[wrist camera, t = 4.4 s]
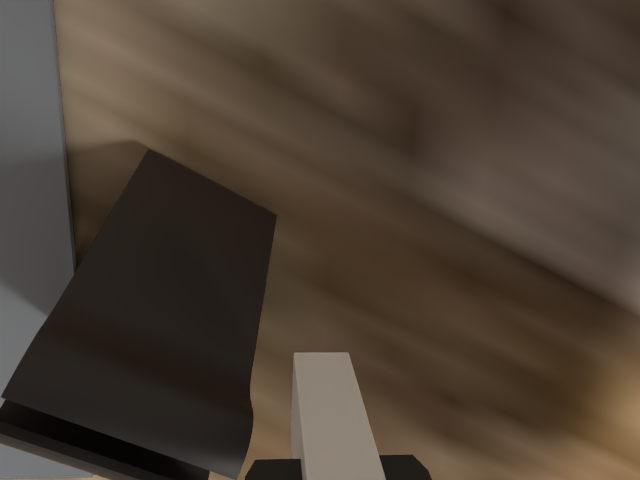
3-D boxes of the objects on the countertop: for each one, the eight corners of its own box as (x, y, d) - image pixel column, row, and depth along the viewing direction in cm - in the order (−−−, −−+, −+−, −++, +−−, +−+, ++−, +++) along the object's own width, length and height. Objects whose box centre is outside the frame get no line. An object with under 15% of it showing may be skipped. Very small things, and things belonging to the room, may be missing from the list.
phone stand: (150, 146, 23) (76, 247, 12) (277, 213, 24) (318, 357, 13) (59, 321, 25) (-81, 552, 13) (182, 371, 26) (149, 613, 15)
